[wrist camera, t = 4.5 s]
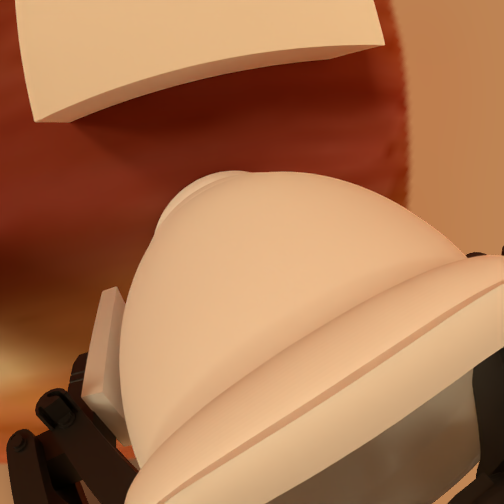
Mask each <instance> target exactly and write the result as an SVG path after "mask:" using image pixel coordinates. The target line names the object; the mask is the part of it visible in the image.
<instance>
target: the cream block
mask: <svg viewBox="0 0 504 504" xmlns="http://www.w3.org/2000/svg"><path fill="white" fill-rule="evenodd" d="M15 6H16V18H17V28H18V36H19V44H20V51H21V58H22V64H23V70H24V75H25V81H26V86H27V91H28V96H29V100H30V105H31V109H32V113H33V117H34V121H35V122H68V123H70V122H72V121H75V120H77V119H79V118H82V117H84V116H87V115H89V114H92V113H94V112H97V111H100V110H102V109H105V108H108V107H110V106H113V105H116V104H119V103H122V102H125V101H128V100H131V99H134V98H137V97H140V96H143V95H146V94H149V93H153V92H156V91H159V90H163V89H166V88H170V87H174V86H177V85H181V84H185V83H189V82H193V81H197V80H201V79H205V78H209V77H214V76H218V75H223V74H228V73H233V72H238V71H243V70H249V69H255V68H261V67H267V66H274V65H281V64H288V63H296V62H305V61H315V60H326V59H332V58H336V57H339V56H343V55H346V54H350V53H354V52H358V51H362V50H366V49H370V48H374V47H379V46H383V45H385V42H384V38H383V34H382V30H381V26H380V22H379V18H378V15H377V11H376V8H375V4H374V1H373V0H15Z"/></svg>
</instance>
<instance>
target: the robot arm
mask: <svg viewBox="0 0 504 504" xmlns="http://www.w3.org/2000/svg"><path fill="white" fill-rule="evenodd" d="M483 255H486V254H483V253H479V252H473V253H469V254H467V255H466V257H467V258H471V257H476V256H483ZM502 256H504V246H503V248H502ZM125 305H126V304H125V302H124V300H123V298H122V296H121V294H120V292H119V289H118V287H117V286H116V287H113V288H110V289H107V290H104V291H102V294H101V298H100V302H99V306H98V311H97V315H96V319H95V324H94V328H93V333H92V338H91V342H90V347H89V352H88V353H84V354H81V355H79V356H78V358H77V359H76V361H75V362H74V364H73V368H72V372H71V375H72V376H71V377H70V383H69V387H68V392H67V391H65V390H64V389H61V388H56V389H52V390H50V391H48V392H46V393H45V394H44V395H43V396H42V397H41V398H40V399H39V401H38V402H37V404H36V409H35V411H36V415H37V416H38V417H39V419H40V420H41V421H42V422H43V423H44V424H45V425H46V426H47V427H48V428H49V429H50V430H48V431H46V432H44V433H42V434H40V435H38V436H35V435H34V434H33V433H32V432H30V431H29V430H27V429H22V430H19V431H17V432H15V433H14V434H13V435H12V436H11V437H10V439H9V441H8V443H7V449H6V451H7V461H8V469H9V476H10V482H11V489H12V495H13V500H14V504H89V503H88V501H87V498H86V496H85V493H84V491H83V488H82V485H81V483H80V481H81V480H83V481H84V482H85V483H86V485H87V486H88V487H89V489H90V490H91V491H92V493H93V494H94V495H95V497H96V498H97V499H98V501H99V502H100V503H101V504H124V502H125V499H126V495H127V492H128V490H129V488H130V486H131V484H132V482H133V480H134V478H135V477H136V475H137V474H138V472H139V471H138V470H137V469H136V468H135V467H134V466H133V465H132V464H131V463H130V462H129V461H128V460H127V459H126V458H125V457H124V455H123V454H122V453H121V452H120V451H119V450H118V449H117V448H116V439H117V440H118V441H119V442H120V443H121V444H122V445H123V446H129V445H132V444H131V441H130V437H129V433H128V429H127V425H126V420H125V415H124V409H123V403H122V395H121V386H120V370H119V351H120V336H121V327H122V320H123V315H124V310H125ZM472 387H473V393H474V400H475V406H476V414H477V421H478V430H479V440H480V462H479V465H478V469H477V473H476V479H475V480H474V481H473V482H472V483H470V484H469V485H468V486H467V487H465V488H464V489H463V490H462V491H460V492H459V493H458V494H456V495H455V496H454V497H453V498H452V499H451V500H450V502H449V503H448V504H504V347H503V348H501V349H500V350H498V351H497V352H495V353H494V354H492V355H491V356H489V357H488V358H486V359H485V360H483V361H482V362H481V363H479V364H478V365H476V366H475V367H474V368H473V376H472Z"/></svg>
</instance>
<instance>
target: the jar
mask: <svg viewBox="0 0 504 504" xmlns="http://www.w3.org/2000/svg"><path fill="white" fill-rule="evenodd" d="M503 347H504V256H502V255H483V256H476V257H471V258H467V257H466V255H464V253H463V252H462V251H461V250H460V249H459V248H458V247H457V246H456V245H455V244H453V243H452V242H451V241H450V240H449V239H448V238H447V237H445V236H444V235H443V234H442V233H440V232H439V231H438V230H437V229H435V228H434V227H433V226H431V225H430V224H429V223H427V222H426V221H424V220H423V219H421V218H420V217H419V216H417V215H415V214H414V213H412V212H411V211H409V210H408V209H406V208H404V207H403V206H401V205H399V204H397V203H395V202H394V201H392V200H390V199H388V198H386V197H384V196H382V195H380V194H378V193H376V192H373V191H371V190H369V189H366V188H364V187H361V186H358V185H356V184H353V183H350V182H347V181H343V180H340V179H336V178H332V177H328V176H323V175H317V174H310V173H302V172H255V173H251V172H246V171H223V172H218V173H213V174H210V175H207V176H205V177H202V178H200V179H198V180H196V181H194V182H193V183H191V184H190V185H188V186H187V187H185V188H184V189H183V190H181V191H180V192H179V193H178V194H177V195H176V196H175V197H174V198H173V199H172V200H171V202H170V203H169V204H168V206H167V207H166V208H165V210H164V212H163V213H162V215H161V217H160V219H159V221H158V224H157V227H156V230H155V233H154V237H153V238H152V240H151V242H150V244H149V247H148V248H147V250H146V252H145V254H144V256H143V258H142V260H141V262H140V264H139V266H138V269H137V271H136V273H135V276H134V279H133V281H132V284H131V287H130V290H129V294H128V297H127V301H126V305H125V310H124V315H123V320H122V327H121V336H120V351H119V370H120V386H121V395H122V403H123V409H124V415H125V420H126V425H127V429H128V433H129V437H130V441H131V444H132V447H133V450H134V453H135V456H136V459H137V461H138V464H139V466H140V469H141V470H140V471H139V472H138V474H137V475H136V477H135V478H134V480H133V482H132V484H131V486H130V488H129V490H128V492H127V495H126V499H125V502H124V504H432V503H433V502H435V501H436V500H437V499H438V498H440V497H441V496H442V495H443V494H445V493H446V492H447V491H448V490H449V489H451V488H452V487H453V486H454V485H455V484H456V483H457V482H459V481H460V480H461V479H462V478H463V477H464V476H465V475H466V474H467V473H468V472H469V471H470V470H471V469H472V468H473V467H474V466H475V465H476V464H477V463H478V462H479V461H480V440H479V430H478V421H477V414H476V406H475V400H474V393H473V387H472V376H473V368H474V367H475V366H476V365H478V364H479V363H481V362H482V361H483V360H485V359H486V358H488V357H489V356H491V355H492V354H494V353H495V352H497V351H498V350H500V349H501V348H503Z"/></svg>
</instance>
